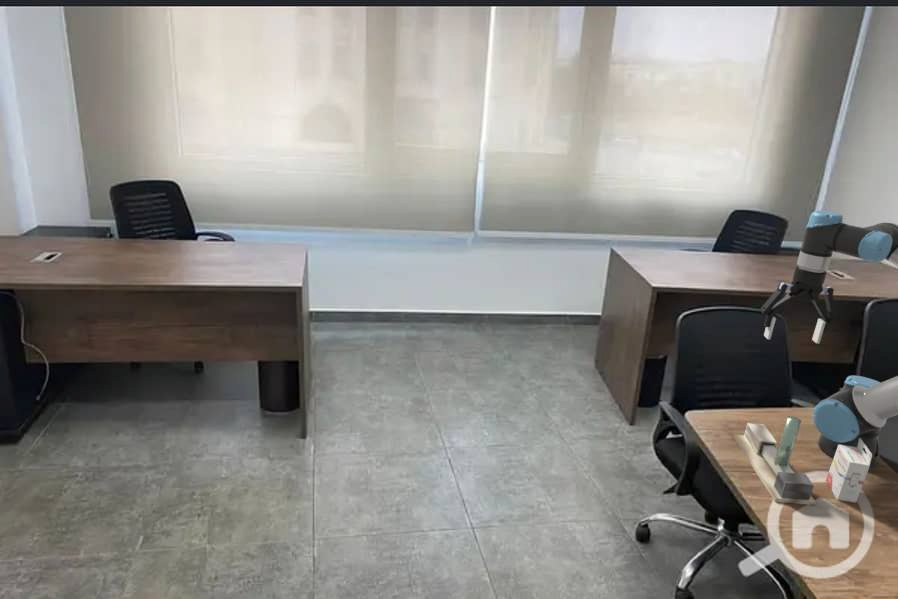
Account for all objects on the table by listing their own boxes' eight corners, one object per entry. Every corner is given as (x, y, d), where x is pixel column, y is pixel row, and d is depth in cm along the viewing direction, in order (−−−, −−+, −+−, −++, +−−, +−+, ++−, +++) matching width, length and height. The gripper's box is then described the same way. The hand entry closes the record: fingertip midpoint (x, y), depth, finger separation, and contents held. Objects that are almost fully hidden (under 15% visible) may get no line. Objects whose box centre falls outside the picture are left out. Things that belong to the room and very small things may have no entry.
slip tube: (768, 449, 181) (783, 399, 176) (799, 493, 163) (817, 439, 157) (757, 448, 181) (771, 398, 176) (787, 491, 163) (804, 437, 157)
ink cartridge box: (824, 480, 172) (840, 433, 167) (844, 483, 172) (860, 436, 167) (836, 500, 165) (853, 451, 159) (857, 503, 164) (875, 455, 159)
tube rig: (767, 440, 189) (771, 424, 187) (814, 505, 162) (820, 486, 160) (733, 437, 190) (737, 420, 188) (774, 501, 162) (780, 483, 160)
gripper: (850, 267, 176) (829, 338, 184) (759, 260, 177) (741, 330, 184) (865, 276, 169) (842, 349, 177) (770, 268, 170) (751, 341, 177)
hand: (791, 339), depth 181 cm, fingers open, 13 cm apart
